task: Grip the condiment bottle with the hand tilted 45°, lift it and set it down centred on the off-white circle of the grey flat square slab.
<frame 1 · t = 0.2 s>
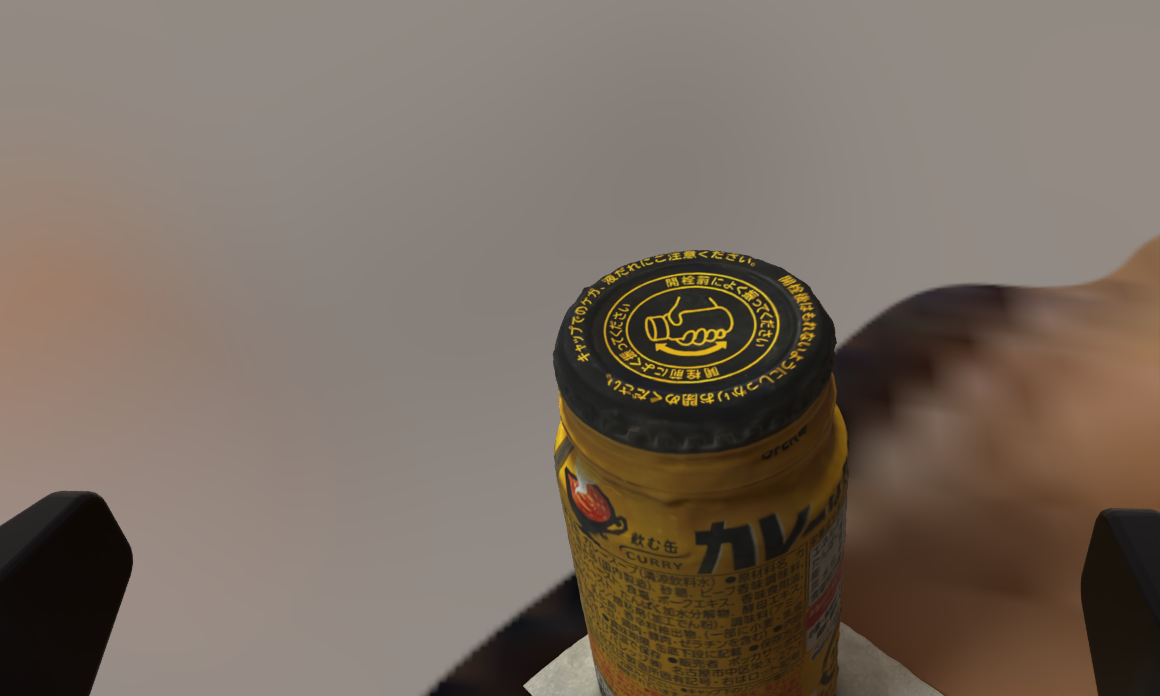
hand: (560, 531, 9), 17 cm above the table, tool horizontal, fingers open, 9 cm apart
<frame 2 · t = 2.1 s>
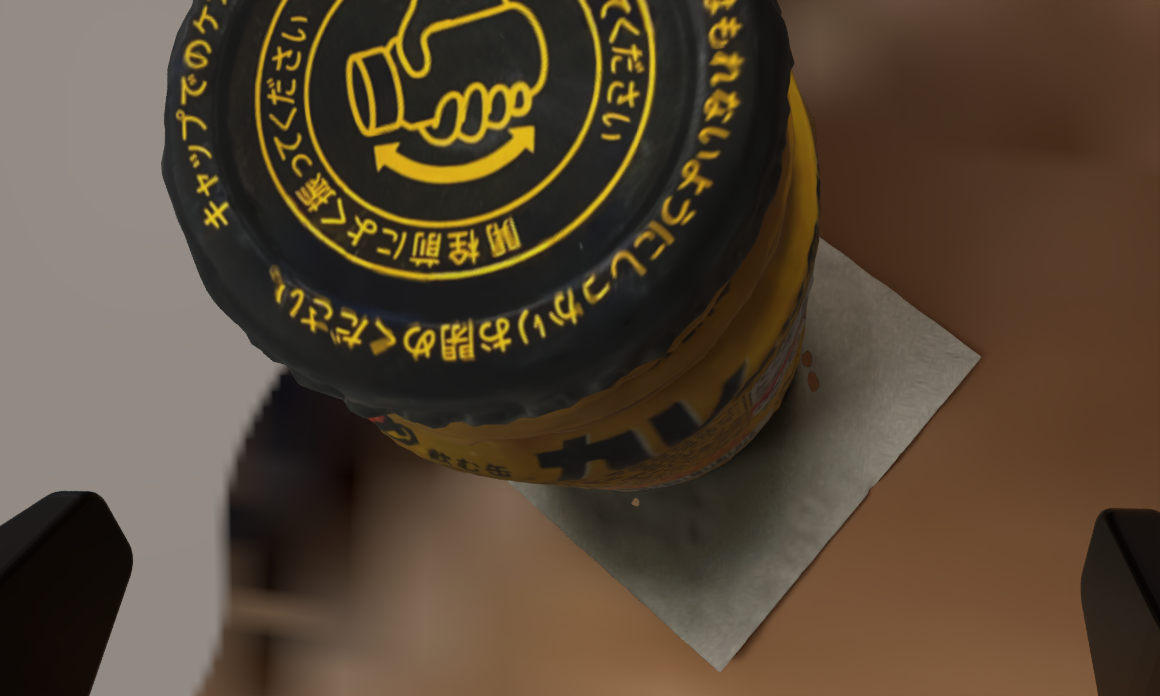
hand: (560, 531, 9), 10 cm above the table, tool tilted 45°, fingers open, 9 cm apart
condiment: (670, 368, 19), on the table
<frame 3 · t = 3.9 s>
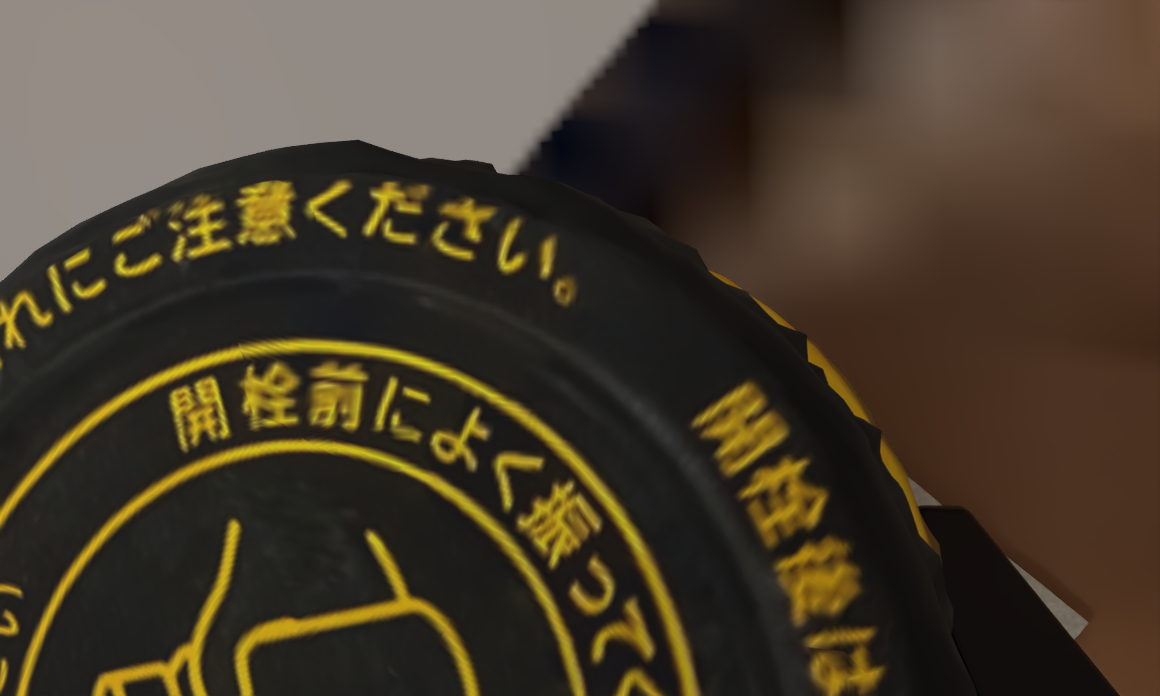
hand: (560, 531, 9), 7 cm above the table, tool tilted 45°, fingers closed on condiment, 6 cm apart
condiment: (687, 609, 15), on the table, touching gripper
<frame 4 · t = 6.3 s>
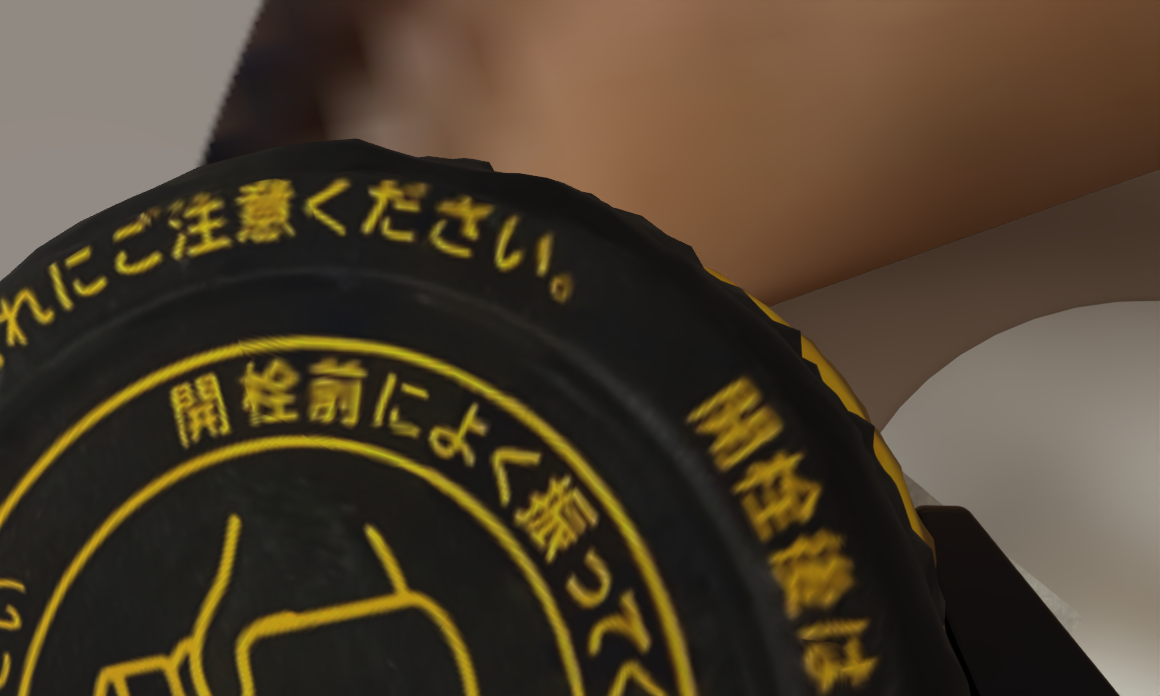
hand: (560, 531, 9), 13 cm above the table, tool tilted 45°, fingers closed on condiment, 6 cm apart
grey flat square slab: (1135, 609, 20), on the table
condiment: (684, 605, 16), point 6 cm above the table, touching gripper
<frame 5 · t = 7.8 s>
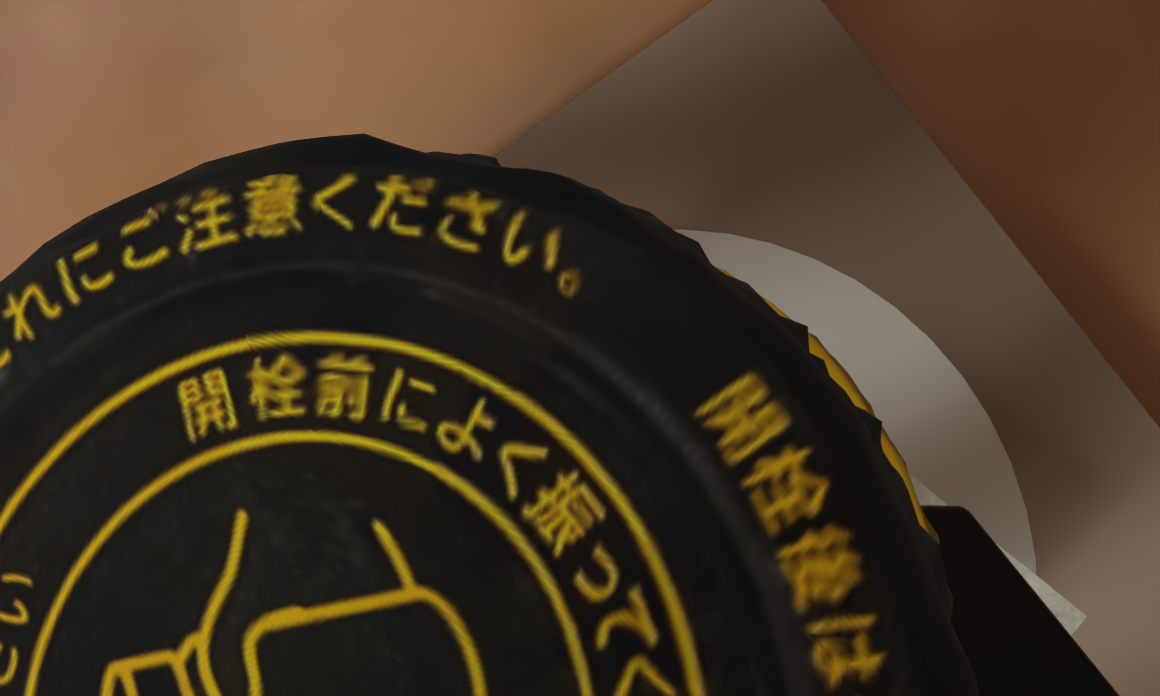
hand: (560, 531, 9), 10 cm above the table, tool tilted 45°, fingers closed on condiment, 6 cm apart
grey flat square slab: (669, 567, 18), on the table
condiment: (687, 604, 16), point 3 cm above the table, touching gripper
when the fingers open (9 cm above the table, at t = 8.9 s): condiment stays where it is, resting on grey flat square slab.
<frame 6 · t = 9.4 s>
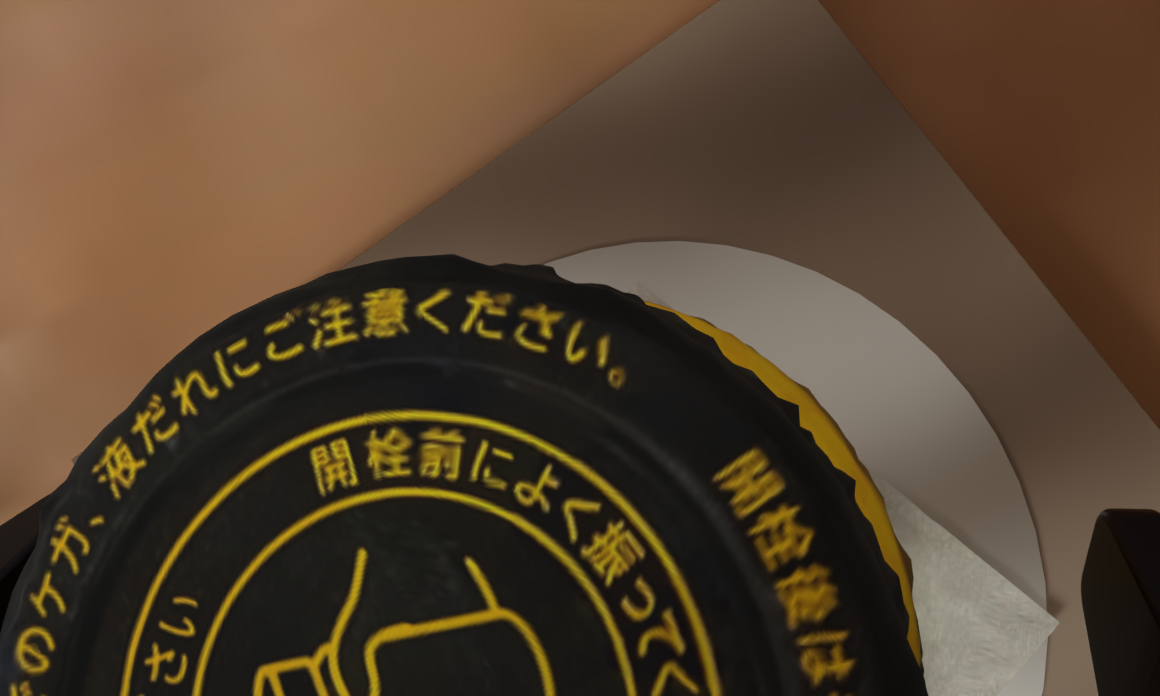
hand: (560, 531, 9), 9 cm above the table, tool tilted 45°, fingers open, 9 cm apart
grey flat square slab: (665, 589, 18), on the table
condiment: (692, 610, 17), point 1 cm above the table, touching grey flat square slab
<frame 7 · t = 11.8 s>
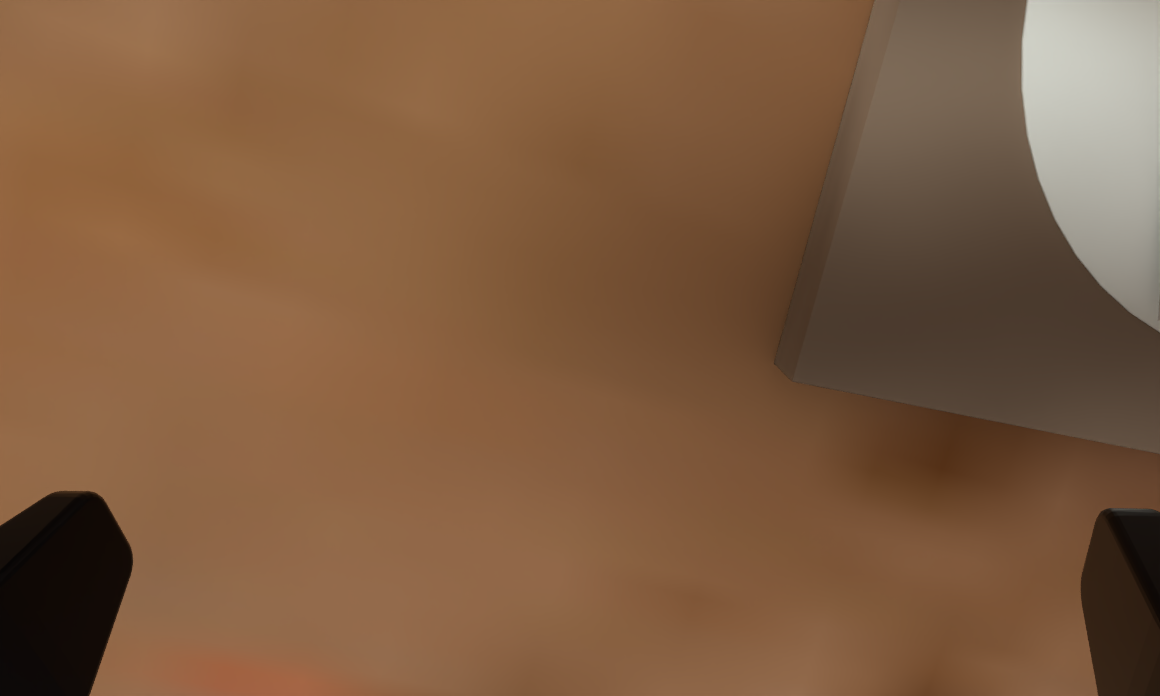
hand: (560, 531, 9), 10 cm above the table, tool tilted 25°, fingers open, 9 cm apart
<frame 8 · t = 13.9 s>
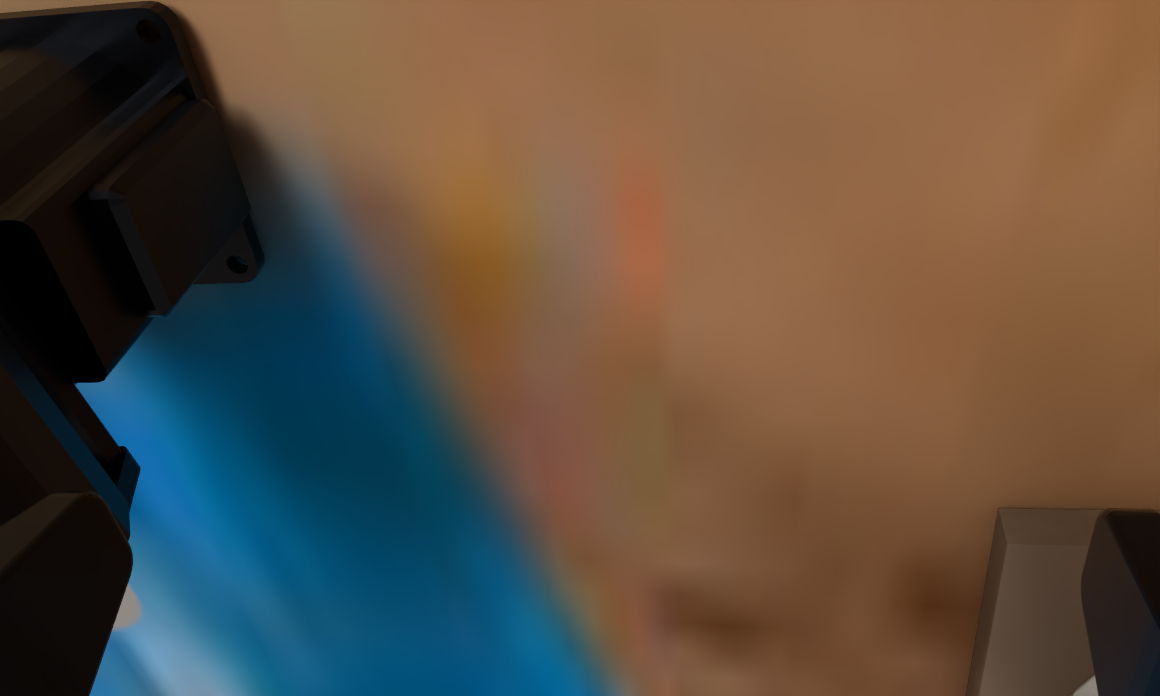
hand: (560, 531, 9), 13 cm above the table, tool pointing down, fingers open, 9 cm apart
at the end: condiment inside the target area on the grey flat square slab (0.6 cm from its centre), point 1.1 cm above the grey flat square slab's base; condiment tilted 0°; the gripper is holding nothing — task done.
